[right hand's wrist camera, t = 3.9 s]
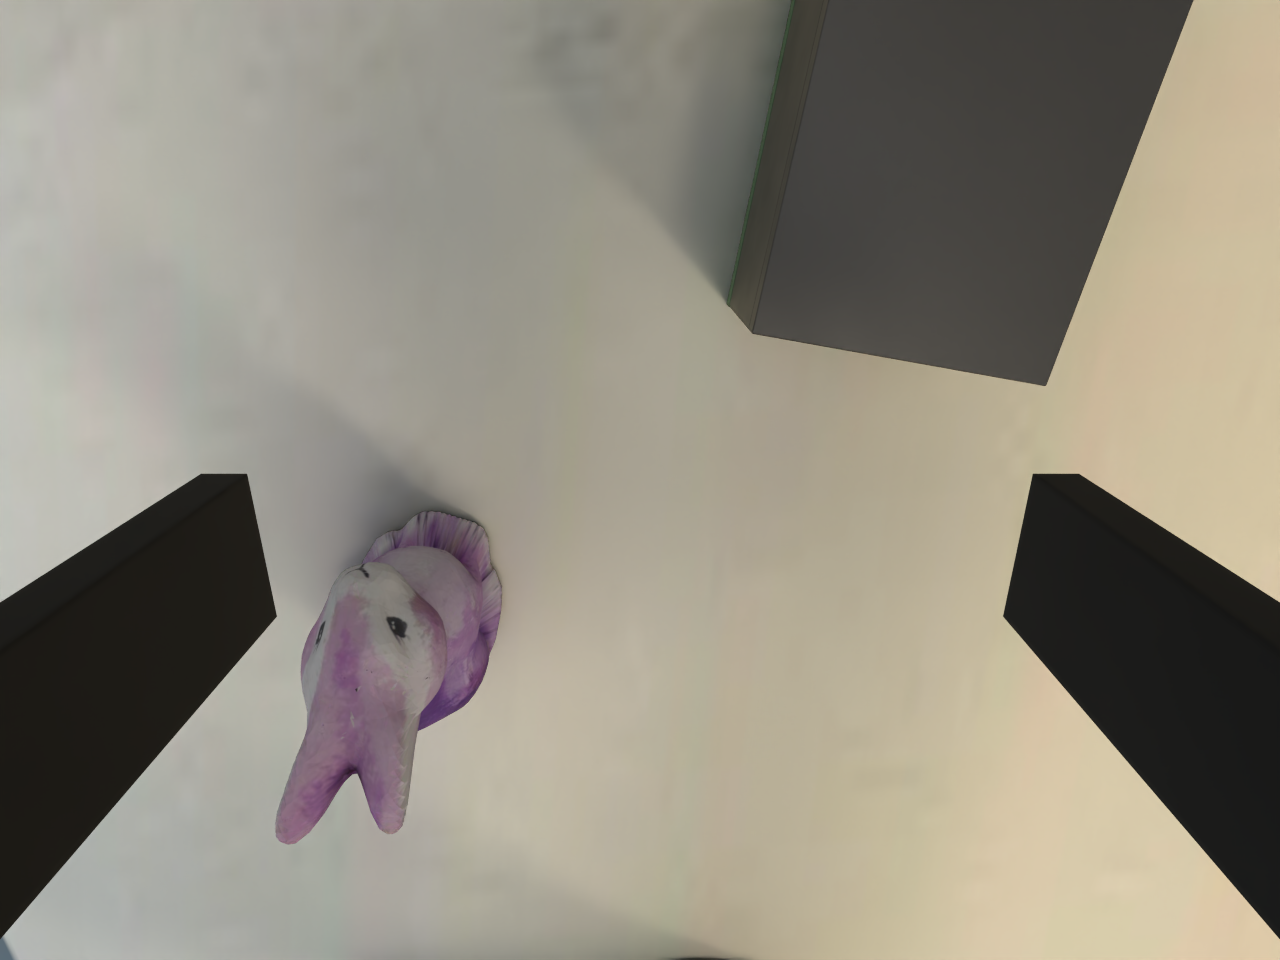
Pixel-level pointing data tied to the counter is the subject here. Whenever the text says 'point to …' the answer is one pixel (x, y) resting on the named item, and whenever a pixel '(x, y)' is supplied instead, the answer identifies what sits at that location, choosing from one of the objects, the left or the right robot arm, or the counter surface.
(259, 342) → the counter surface
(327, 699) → the figurine
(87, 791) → the right robot arm
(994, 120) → the cabinet
